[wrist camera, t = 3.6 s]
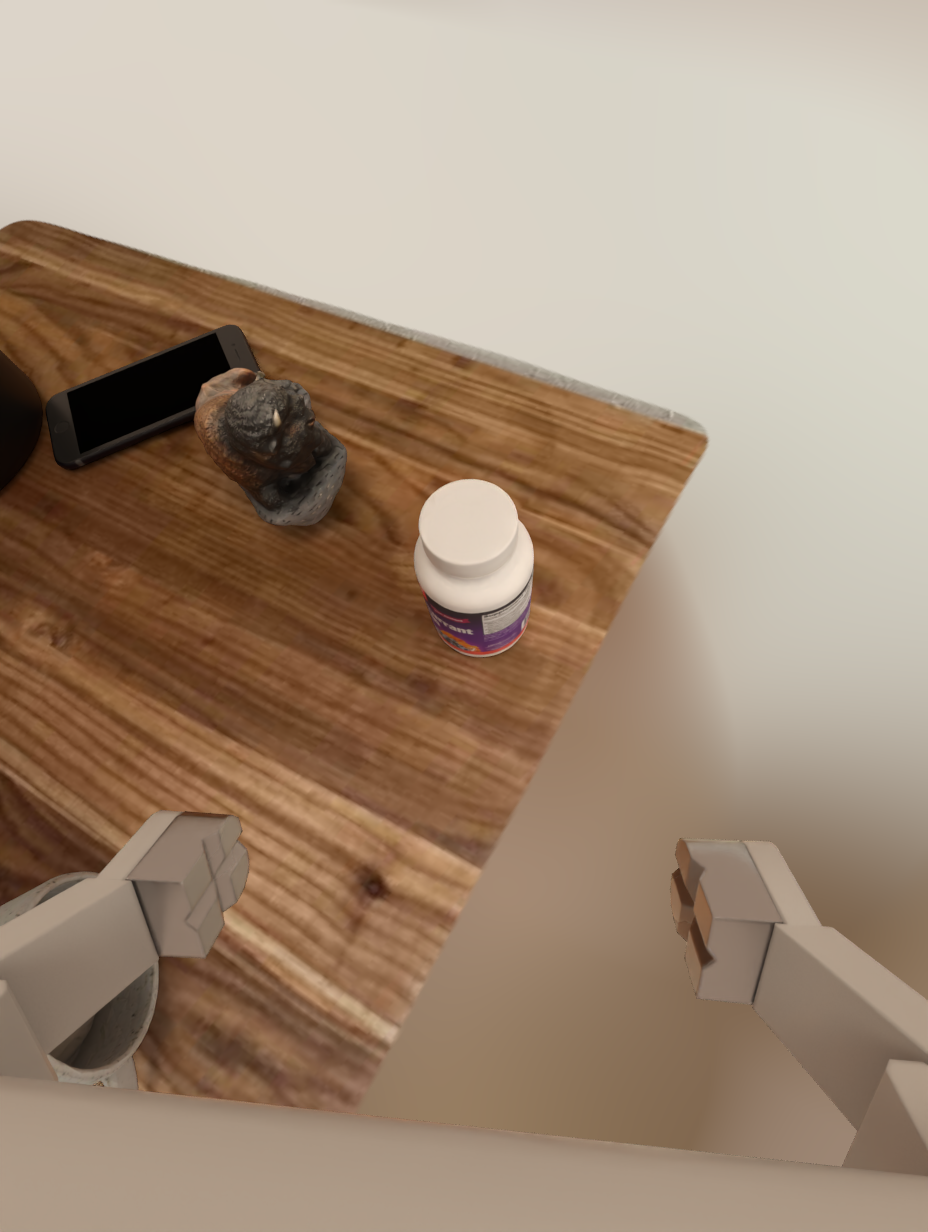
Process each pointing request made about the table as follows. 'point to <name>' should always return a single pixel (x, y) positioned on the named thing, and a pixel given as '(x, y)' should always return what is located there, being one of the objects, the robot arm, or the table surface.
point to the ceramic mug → (110, 1031)
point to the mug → (16, 418)
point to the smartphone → (141, 397)
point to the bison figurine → (271, 445)
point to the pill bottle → (474, 567)
